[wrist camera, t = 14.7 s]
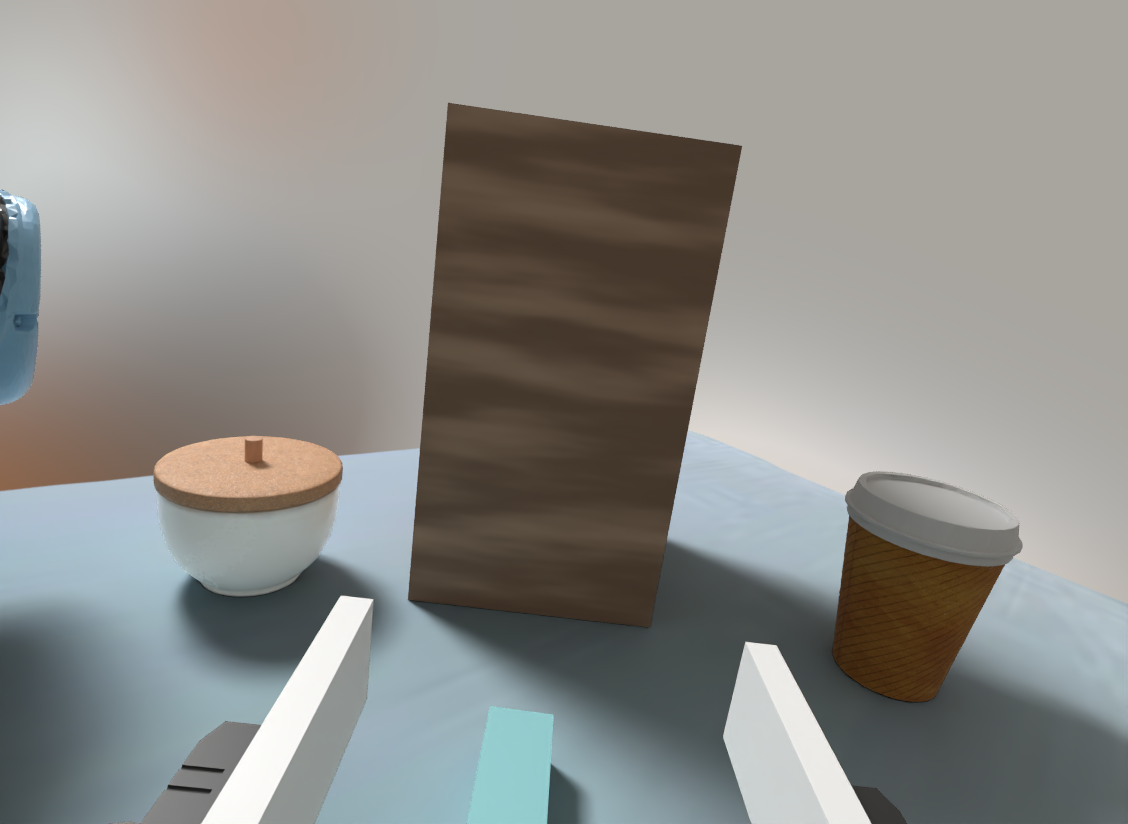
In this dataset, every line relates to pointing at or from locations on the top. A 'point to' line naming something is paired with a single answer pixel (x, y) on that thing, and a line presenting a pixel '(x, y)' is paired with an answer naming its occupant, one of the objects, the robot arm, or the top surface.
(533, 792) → the bar
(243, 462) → the lidded jar
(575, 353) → the stand
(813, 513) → the top surface
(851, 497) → the disposable coffee cup
